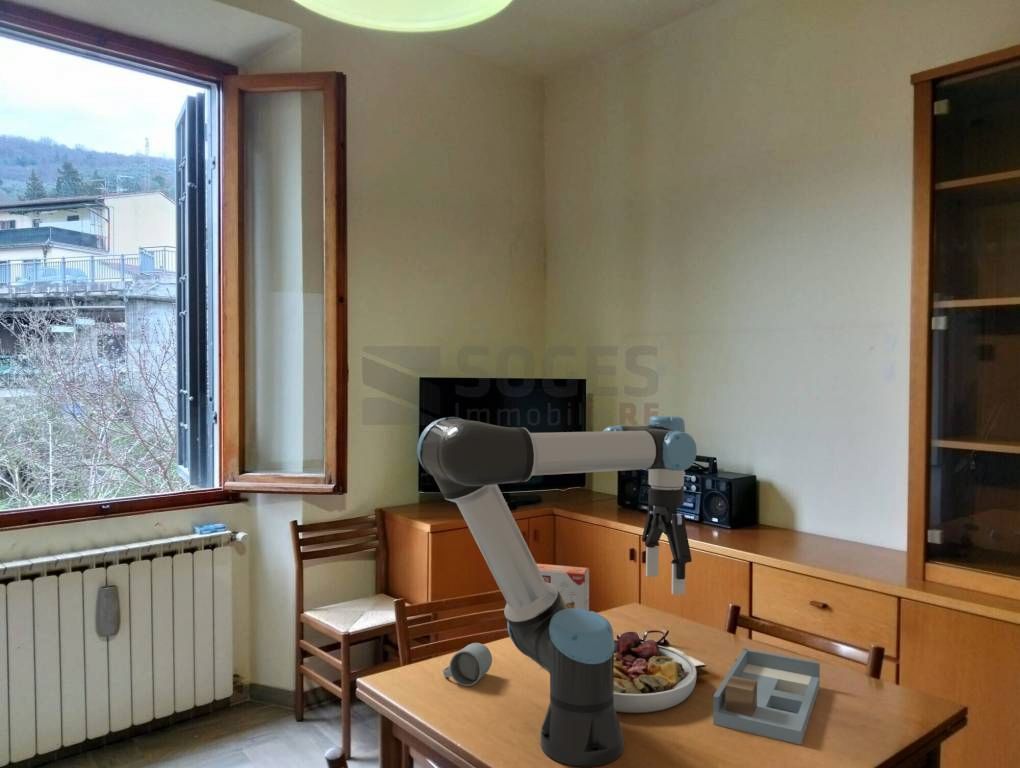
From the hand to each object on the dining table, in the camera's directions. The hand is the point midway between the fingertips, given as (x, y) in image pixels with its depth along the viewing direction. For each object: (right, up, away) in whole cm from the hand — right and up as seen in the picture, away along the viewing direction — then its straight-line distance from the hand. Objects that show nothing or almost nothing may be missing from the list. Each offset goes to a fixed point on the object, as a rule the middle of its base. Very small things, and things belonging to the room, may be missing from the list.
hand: (664, 584), depth 156 cm
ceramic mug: (-43, -23, +5) cm, 49 cm away
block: (+12, -20, -15) cm, 28 cm away
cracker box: (-22, -22, +20) cm, 37 cm away
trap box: (+20, -23, -8) cm, 31 cm away
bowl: (-8, -23, +1) cm, 24 cm away
